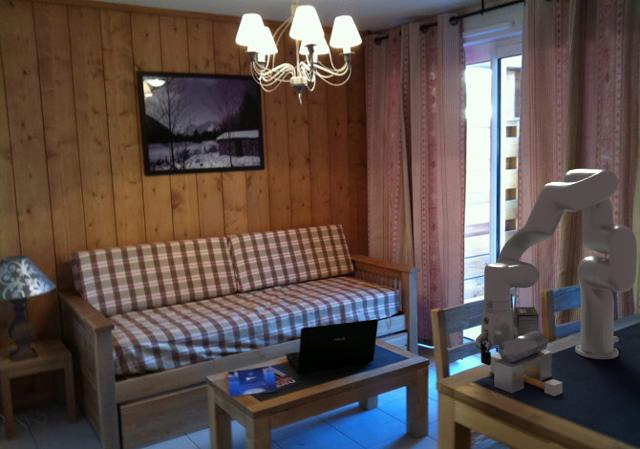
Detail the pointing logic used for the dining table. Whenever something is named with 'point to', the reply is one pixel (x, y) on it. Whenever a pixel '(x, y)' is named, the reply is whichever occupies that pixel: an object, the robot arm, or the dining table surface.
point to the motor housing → (522, 361)
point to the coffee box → (525, 320)
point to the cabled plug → (549, 386)
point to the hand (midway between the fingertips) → (496, 360)
